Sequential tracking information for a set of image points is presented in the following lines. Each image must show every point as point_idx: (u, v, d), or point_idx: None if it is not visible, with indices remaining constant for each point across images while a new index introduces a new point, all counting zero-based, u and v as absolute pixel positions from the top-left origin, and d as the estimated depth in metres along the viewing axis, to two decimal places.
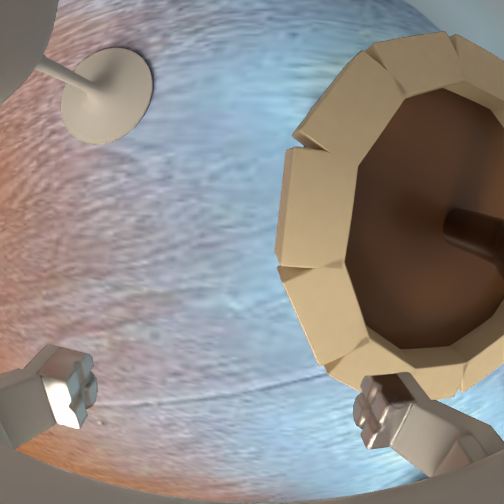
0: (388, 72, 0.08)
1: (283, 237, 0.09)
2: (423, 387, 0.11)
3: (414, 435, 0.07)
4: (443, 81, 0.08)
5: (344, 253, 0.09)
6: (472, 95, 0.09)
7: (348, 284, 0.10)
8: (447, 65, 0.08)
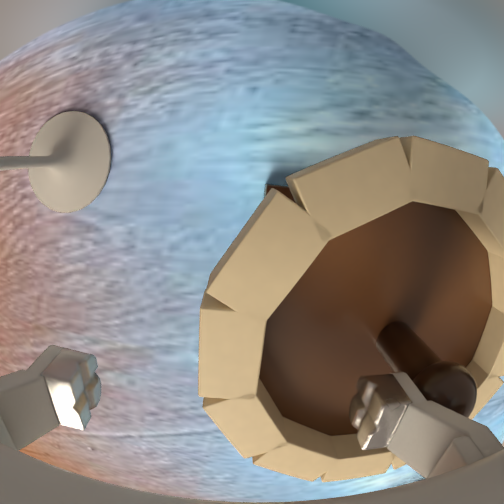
0: (309, 214, 0.09)
1: (198, 377, 0.10)
2: (349, 470, 0.12)
3: (410, 436, 0.07)
4: (382, 210, 0.09)
5: (255, 389, 0.10)
6: None
7: (261, 410, 0.10)
8: (392, 187, 0.08)
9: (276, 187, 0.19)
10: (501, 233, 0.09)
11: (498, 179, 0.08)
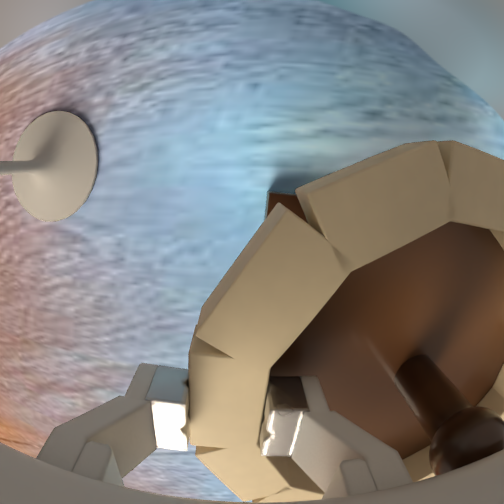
0: (327, 239, 0.07)
1: None
2: None
3: (309, 448, 0.06)
4: (416, 234, 0.07)
5: (255, 438, 0.08)
6: None
7: (262, 458, 0.08)
8: (428, 204, 0.06)
9: (280, 195, 0.17)
10: None
11: None
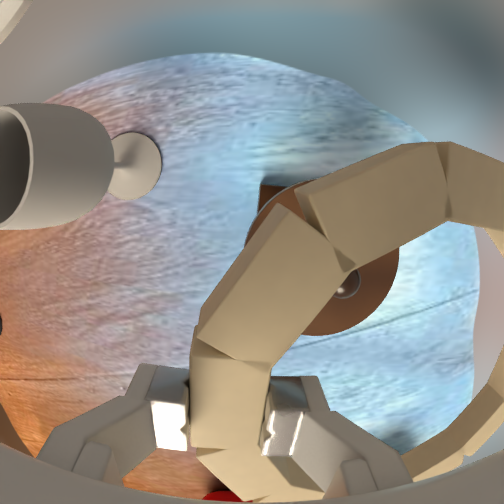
0: (328, 239, 0.07)
1: (190, 428, 0.08)
2: None
3: (309, 448, 0.06)
4: (414, 233, 0.07)
5: (256, 439, 0.08)
6: None
7: (263, 458, 0.08)
8: (426, 204, 0.07)
9: (266, 185, 0.31)
10: None
11: None
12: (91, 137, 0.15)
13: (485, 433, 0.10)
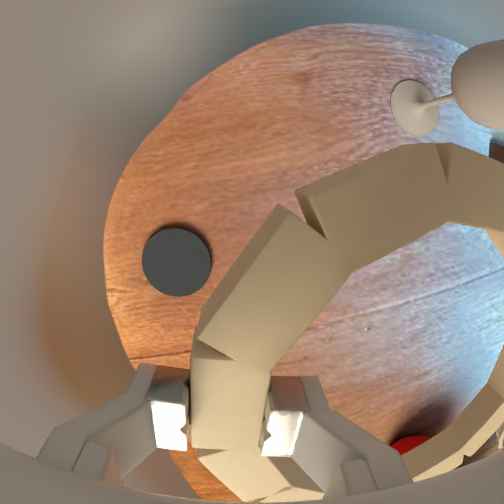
0: (329, 240, 0.07)
1: (191, 429, 0.08)
2: None
3: (310, 448, 0.06)
4: (415, 234, 0.07)
5: (257, 439, 0.08)
6: None
7: (264, 459, 0.08)
8: (427, 205, 0.07)
9: (497, 144, 0.32)
10: None
11: None
12: None
13: (485, 433, 0.10)
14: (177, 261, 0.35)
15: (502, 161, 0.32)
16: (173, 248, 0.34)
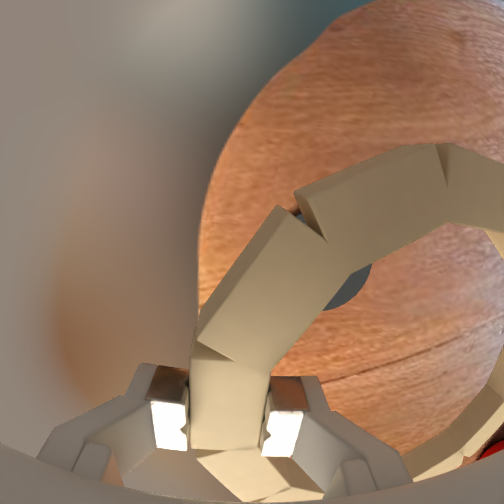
0: (328, 241, 0.07)
1: (190, 429, 0.08)
2: None
3: (309, 448, 0.06)
4: (414, 235, 0.07)
5: (256, 440, 0.08)
6: None
7: (263, 459, 0.08)
8: (426, 206, 0.07)
9: None
10: None
11: None
12: None
13: (485, 433, 0.10)
14: None
15: None
16: None
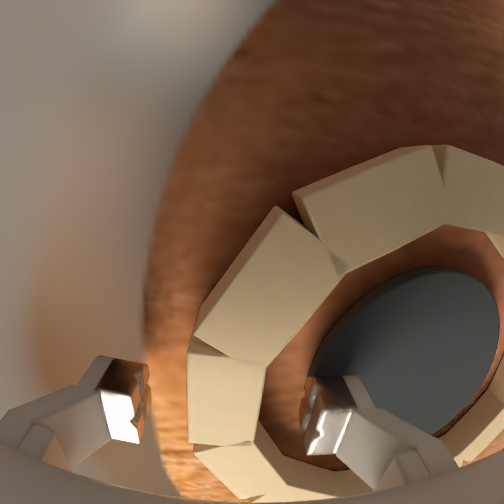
0: (323, 241, 0.07)
1: (187, 423, 0.08)
2: None
3: (356, 444, 0.06)
4: (410, 236, 0.07)
5: (252, 436, 0.08)
6: None
7: (259, 456, 0.08)
8: (422, 207, 0.07)
9: None
10: None
11: None
12: None
13: (485, 439, 0.09)
14: (426, 374, 0.09)
15: None
16: (428, 339, 0.09)
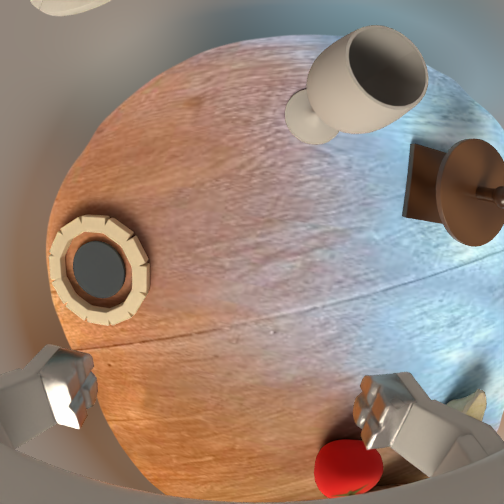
0: (63, 235, 0.36)
1: (50, 273, 0.38)
2: (93, 317, 0.39)
3: (414, 435, 0.07)
4: (76, 234, 0.36)
5: (60, 277, 0.38)
6: None
7: (62, 283, 0.38)
8: (78, 228, 0.36)
9: (418, 145, 0.36)
10: (113, 237, 0.37)
11: (109, 222, 0.36)
12: None
13: (132, 303, 0.39)
14: (98, 269, 0.39)
15: (425, 162, 0.36)
16: (95, 258, 0.38)
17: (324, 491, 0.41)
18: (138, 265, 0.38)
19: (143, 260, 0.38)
